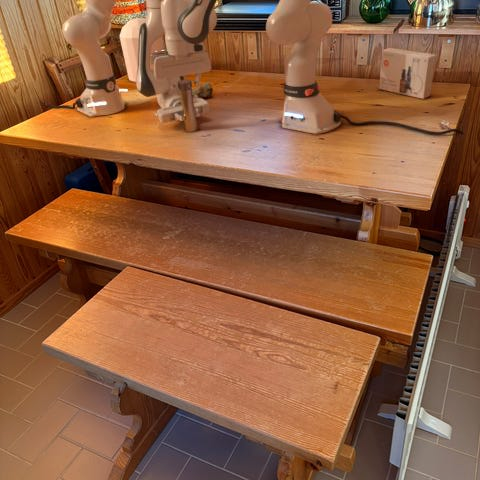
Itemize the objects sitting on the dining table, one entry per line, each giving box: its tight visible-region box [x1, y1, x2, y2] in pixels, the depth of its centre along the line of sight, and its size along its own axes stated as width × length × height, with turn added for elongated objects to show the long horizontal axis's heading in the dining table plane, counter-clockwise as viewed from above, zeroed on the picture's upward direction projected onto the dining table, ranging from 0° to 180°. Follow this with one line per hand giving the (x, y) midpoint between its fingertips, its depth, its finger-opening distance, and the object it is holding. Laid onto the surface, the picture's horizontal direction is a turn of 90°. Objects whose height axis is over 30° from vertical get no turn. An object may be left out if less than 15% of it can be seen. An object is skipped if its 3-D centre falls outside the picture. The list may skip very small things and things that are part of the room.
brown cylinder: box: [179, 87, 199, 133], centre depth 170 cm, size 4×4×17 cm
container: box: [119, 17, 165, 83], centre depth 235 cm, size 21×21×28 cm
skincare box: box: [378, 47, 437, 100], centre depth 184 cm, size 21×6×16 cm, turn 40°
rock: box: [192, 81, 214, 99], centre depth 206 cm, size 11×6×10 cm
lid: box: [177, 79, 193, 90], centre depth 166 cm, size 5×5×2 cm
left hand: (190, 116), depth 171 cm, fingers closed on brown cylinder, 4 cm apart
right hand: (185, 87), depth 166 cm, fingers open, 7 cm apart
